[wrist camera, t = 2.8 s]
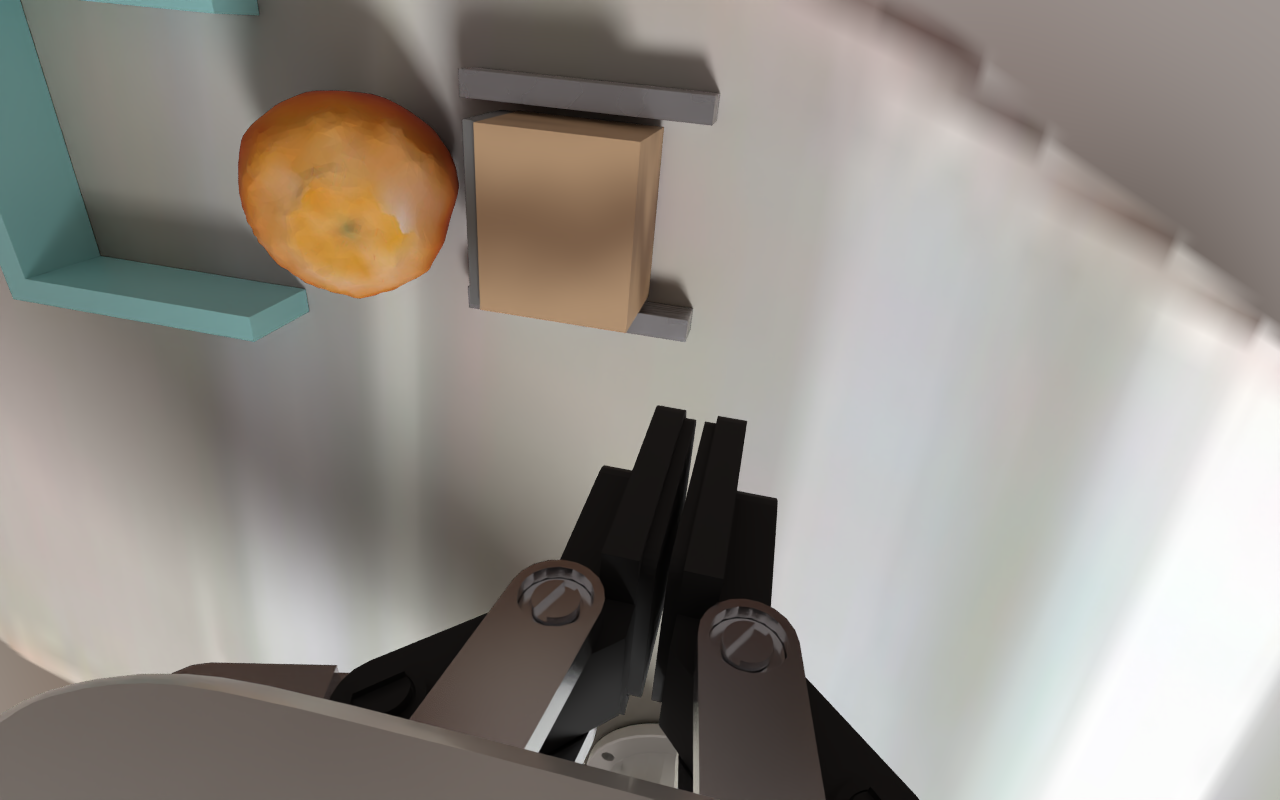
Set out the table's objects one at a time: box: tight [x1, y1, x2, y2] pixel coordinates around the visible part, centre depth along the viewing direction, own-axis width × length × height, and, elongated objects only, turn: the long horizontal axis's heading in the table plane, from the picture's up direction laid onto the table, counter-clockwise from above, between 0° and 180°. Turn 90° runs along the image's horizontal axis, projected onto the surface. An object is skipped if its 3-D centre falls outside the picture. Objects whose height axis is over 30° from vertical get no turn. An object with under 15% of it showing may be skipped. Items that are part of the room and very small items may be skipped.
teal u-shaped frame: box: [0, 0, 309, 342], centre depth 30 cm, size 14×13×4 cm
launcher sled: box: [462, 110, 664, 333], centre depth 27 cm, size 7×7×4 cm
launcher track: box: [458, 67, 720, 342], centre depth 28 cm, size 10×10×2 cm
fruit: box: [238, 91, 459, 299], centre depth 28 cm, size 8×8×8 cm
